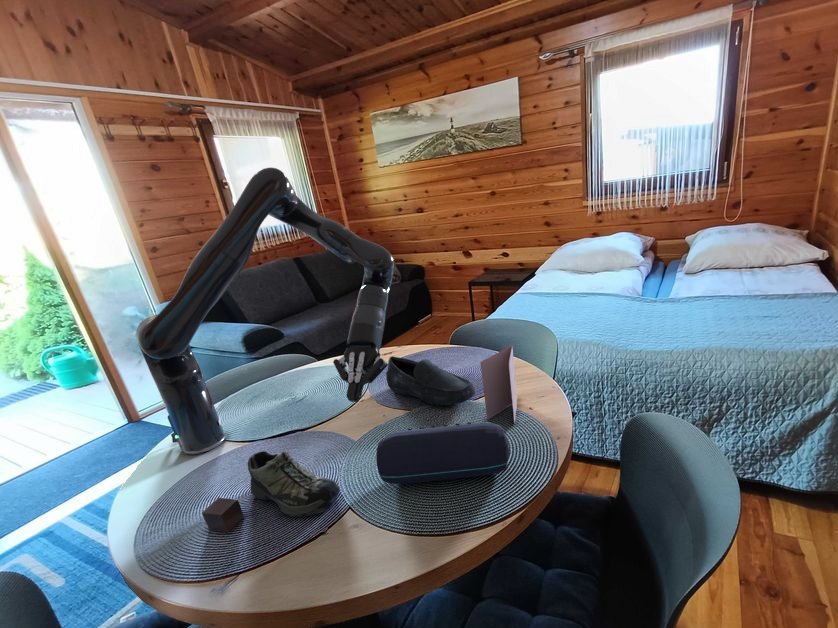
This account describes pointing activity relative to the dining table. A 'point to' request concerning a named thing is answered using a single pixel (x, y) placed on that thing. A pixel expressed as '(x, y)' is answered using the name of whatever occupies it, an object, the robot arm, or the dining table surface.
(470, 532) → the dining table surface
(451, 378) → the loafer
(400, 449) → the portable speaker
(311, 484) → the hiking shoe
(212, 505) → the block
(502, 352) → the greeting card
